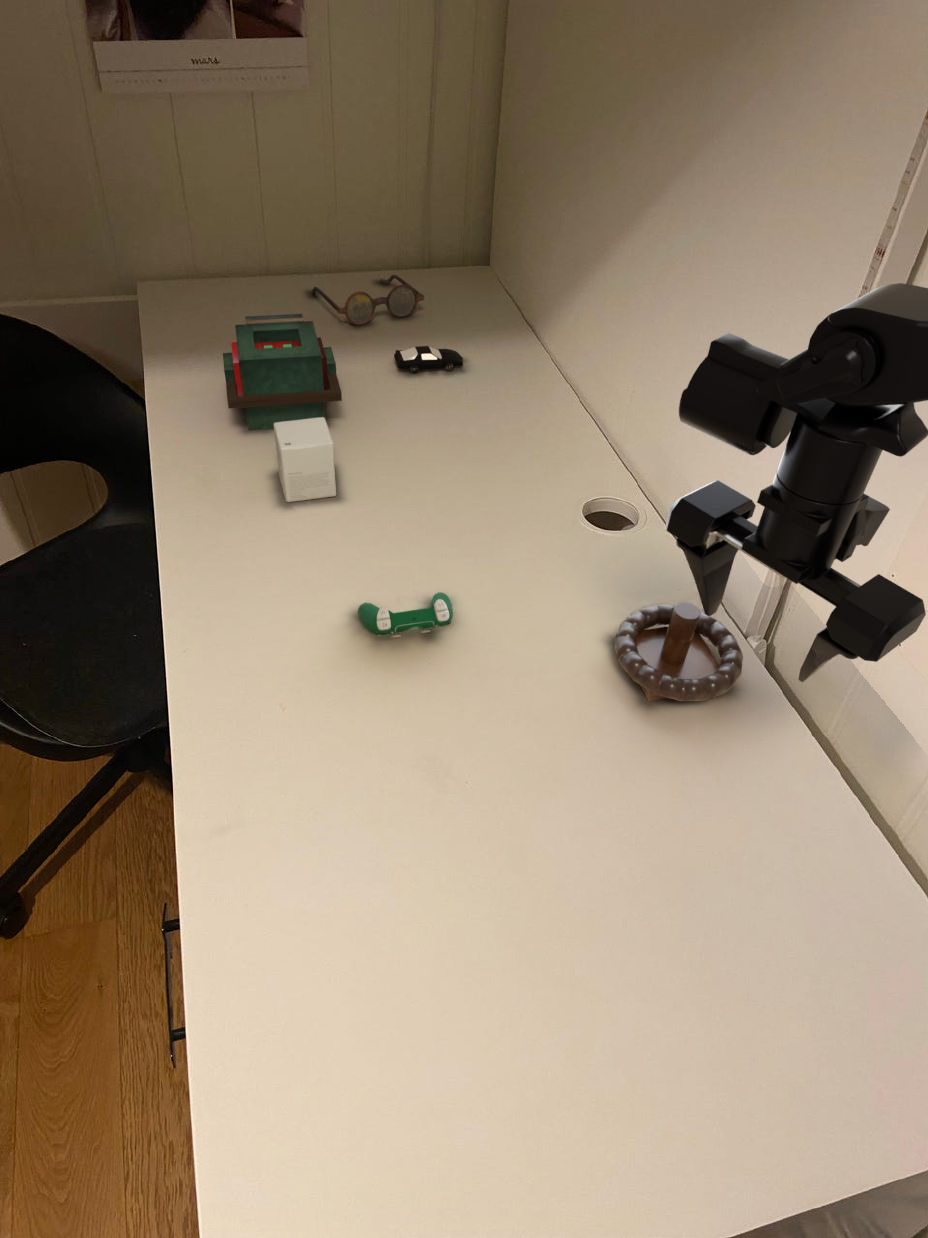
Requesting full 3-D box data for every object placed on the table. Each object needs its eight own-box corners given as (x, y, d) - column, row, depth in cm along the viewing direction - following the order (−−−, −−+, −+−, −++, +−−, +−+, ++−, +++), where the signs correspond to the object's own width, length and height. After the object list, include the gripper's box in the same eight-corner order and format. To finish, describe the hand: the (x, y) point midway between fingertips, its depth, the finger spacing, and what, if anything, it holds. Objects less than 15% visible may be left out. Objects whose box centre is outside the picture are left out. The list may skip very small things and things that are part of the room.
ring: (760, 656, 81) (767, 642, 80) (700, 726, 75) (705, 712, 73) (655, 598, 87) (659, 584, 85) (589, 659, 80) (592, 644, 79)
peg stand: (689, 631, 85) (707, 577, 80) (726, 688, 80) (747, 634, 75) (616, 641, 84) (630, 587, 79) (648, 701, 78) (665, 647, 73)
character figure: (339, 313, 120) (360, 380, 106) (295, 390, 126) (309, 463, 112) (247, 263, 112) (257, 328, 98) (205, 347, 118) (208, 420, 104)
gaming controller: (361, 641, 84) (368, 641, 78) (355, 604, 84) (362, 601, 78) (450, 628, 86) (463, 627, 80) (444, 591, 86) (457, 588, 80)
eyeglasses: (340, 329, 132) (339, 297, 128) (306, 293, 141) (303, 262, 137) (424, 314, 137) (424, 283, 134) (385, 280, 146) (385, 251, 143)
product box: (337, 497, 99) (334, 443, 94) (285, 504, 97) (279, 449, 92) (328, 469, 103) (325, 416, 98) (278, 475, 102) (272, 421, 97)
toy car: (459, 357, 127) (460, 340, 125) (465, 370, 124) (466, 353, 122) (393, 361, 124) (393, 344, 123) (398, 374, 122) (398, 357, 120)
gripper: (1011, 507, 55) (914, 670, 66) (777, 393, 66) (726, 550, 76) (923, 569, 50) (834, 736, 61) (684, 434, 61) (643, 597, 71)
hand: (755, 645), depth 67 cm, fingers open, 9 cm apart
